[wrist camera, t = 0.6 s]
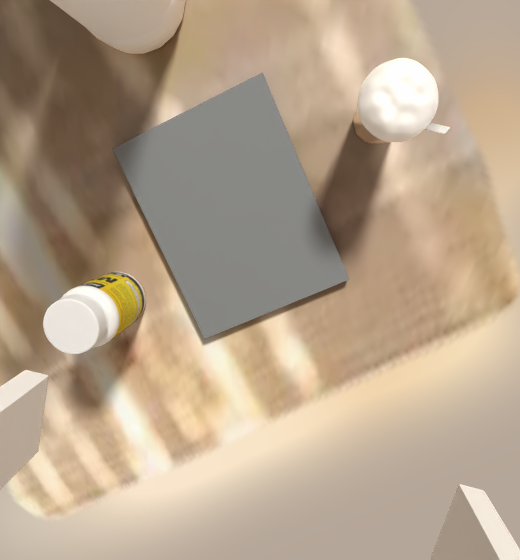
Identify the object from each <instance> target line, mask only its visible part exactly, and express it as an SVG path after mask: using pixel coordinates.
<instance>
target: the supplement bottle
mask: <svg viewBox="0 0 520 560" xmlns="http://www.w3.org/2000/svg"><path fill="white" fill-rule="evenodd" d="M145 304H146V297H145V292H144V290H143V288H142V286H141V284H140V283H139V282H138V281H137V280H136V279H135V278H134V277H132V276H131V275H129V274H127V273H123V272H111V273H107V274H105V275H102V276H100V277H98V278H96V279H93V280H91V281H88V282H86V283H84V284H82V285H79V286H76V287H74V288H72V289H71V290H69V291H68V292H66V293H65V294H64V295H63V296H62V297H61V299H60V300H58V301H56V302H54V303H53V304H52V305H51V306H50V307H49V308H48V309H47V311H46V313H45V315H44V319H43V328H44V332H45V335H46V337H47V339H48V340H49V342H50V343H51V344H52V345H53V346H54V347H55V348H57V349H58V350H60V351H62V352H64V353H68V354H81V353H84V352H86V351H88V350H90V349H91V348H95V347H99V346H102V345H104V344H106V343H107V342H109V341H110V340H111V339H113V338H114V337H115V336H116V335H118V334H119V333H120V332H121V331H123V330H124V329H125V328H127V327H128V326H129V325H131V324H132V323H133V322H135V321H136V320H137V319H138V318H139V317H140V316H141V314H142V313H143V311H144V308H145Z"/></svg>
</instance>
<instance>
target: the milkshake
mask: <svg viewBox="0 0 520 560" xmlns="http://www.w3.org/2000/svg"><path fill="white" fill-rule="evenodd" d="M437 106H438V89H437V85H436V82H435V80H434V78H433V76H432V75H431V74H430V72H429V71H428V70H427V69H426V68H425V67H424V66H423V65H421V64H420V63H418V62H417V61H414V60H411V59H407V58H399V59H394V60H391V61H388V62H385V63H383V64H381V65H379V66H377V67H376V68H375V69H374V70H373V71H372V72H371V73H370V74H369V75H368V76H367V78H366V79H365V81H364V82H363V84H362V87H361V89H360V92H359V96H358V103H357V108H356V112H355V115H354V119H353V123H354V127H355V132H356V135H358V136H359V137H360V138H361V139H362V140H363V141H365V142H366V143H379V144H380V143H386V142H402V141H407V140H410V139H412V138H414V137H416V136H417V135H419V134H420V133H421V132H422V131H423V130H424V129H425V130H429V131H433V132H437V133H441V134H447V133H448V131H449V130H450V129H451V127H448V126H443V125H439V124H434V123H430V122H431V121H432V119H433V117H434V115H435V113H436V110H437Z"/></svg>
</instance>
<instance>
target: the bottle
mask: <svg viewBox="0 0 520 560" xmlns="http://www.w3.org/2000/svg"><path fill="white" fill-rule="evenodd" d="M50 1H51V2H53V3H54V4H55V5H57V6H58V7H59V8H61V9H62V10H63V11H65V12H66V13H67V14H69V15H70V16H71V17H72V18H74V19H75V20H76V21H78V22H79V23H80V24H82V25H83V26H84V27H85V28H87V29H88V30H89V31H90V32H91V33H92V34H93V35H94V36H95V37H96V38H98V39H99V40H100V41H102V42H104V43H107V44H108V45H109V46H111V47H113V48H115V49H118V50H120V51H123V52H125V53H131V54H145V53H147V52H150V51H153V50H155V49H158V48H160V47H162V46H163V45H164V44H165V43H166V42H167V41H168V40H169V39H170V38H171V37H172V36H174V34H175V32H176V30H177V28H178V26H179V25H180V23H181V21H182V19H183V14H184V8H185V2H186V0H50Z"/></svg>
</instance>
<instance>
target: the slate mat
mask: <svg viewBox="0 0 520 560" xmlns="http://www.w3.org/2000/svg"><path fill="white" fill-rule="evenodd" d="M113 151H114V154H115V156H116V158H117V160H118V162H119V164H120V166H121V168H122V170H123V172H124V174H125V176H126V178H127V180H128V182H129V184H130V187H131V189H132V191H133V193H134V195H135V197H136V199H137V201H138V203H139V205H140V207H141V209H142V211H143V213H144V215H145V217H146V220H147V222H148V224H149V226H150V228H151V230H152V232H153V234H154V236H155V238H156V240H157V242H158V244H159V246H160V248H161V250H162V253H163V255H164V257H165V259H166V261H167V263H168V265H169V267H170V269H171V271H172V273H173V275H174V277H175V279H176V281H177V283H178V286H179V288H180V290H181V292H182V294H183V296H184V298H185V300H186V302H187V304H188V306H189V308H190V310H191V312H192V314H193V316H194V319H195V321H196V323H197V325H198V327H199V329H200V331H201V333H202V335H203V337H204V339H206V338H208V337H211V336H213V335H216V334H218V333H220V332H223V331H225V330H228V329H230V328H233V327H235V326H237V325H240V324H242V323H245V322H247V321H250V320H252V319H254V318H257V317H259V316H262V315H264V314H267V313H269V312H272V311H274V310H276V309H279V308H281V307H284V306H286V305H289V304H291V303H293V302H296V301H298V300H301V299H303V298H306V297H308V296H310V295H313V294H315V293H318V292H320V291H323V290H325V289H327V288H330V287H332V286H335V285H337V284H340V283H342V282H344V281H347V280H349V277H348V275H347V272H346V270H345V268H344V265H343V263H342V261H341V258H340V256H339V253H338V251H337V249H336V246H335V244H334V242H333V239H332V237H331V234H330V232H329V230H328V227H327V225H326V223H325V220H324V218H323V215H322V213H321V211H320V208H319V206H318V204H317V201H316V199H315V196H314V194H313V192H312V189H311V187H310V185H309V182H308V180H307V177H306V175H305V173H304V170H303V168H302V166H301V163H300V161H299V158H298V156H297V154H296V151H295V149H294V147H293V144H292V142H291V139H290V137H289V135H288V132H287V130H286V128H285V125H284V123H283V120H282V118H281V116H280V113H279V111H278V109H277V106H276V104H275V101H274V99H273V97H272V94H271V92H270V90H269V87H268V85H267V82H266V80H265V78H264V75H263V73H261V74H259V75H257V76H255V77H253V78H251V79H249V80H247V81H245V82H243V83H241V84H239V85H237V86H235V87H233V88H231V89H229V90H227V91H225V92H223V93H221V94H219V95H217V96H215V97H213V98H211V99H209V100H207V101H205V102H203V103H201V104H199V105H198V106H196V107H194V108H192V109H190V110H188V111H186V112H184V113H182V114H180V115H178V116H176V117H174V118H172V119H170V120H168V121H166V122H164V123H162V124H160V125H158V126H156V127H154V128H152V129H150V130H148V131H146V132H144V133H142V134H140V135H138V136H136V137H134V138H132V139H130V140H128V141H126V142H124V143H123V144H121V145H119V146H117V147H115V148H113Z"/></svg>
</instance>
